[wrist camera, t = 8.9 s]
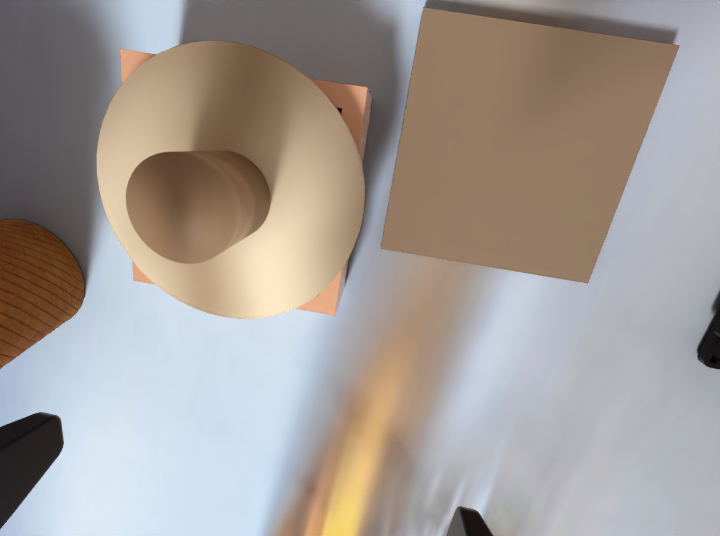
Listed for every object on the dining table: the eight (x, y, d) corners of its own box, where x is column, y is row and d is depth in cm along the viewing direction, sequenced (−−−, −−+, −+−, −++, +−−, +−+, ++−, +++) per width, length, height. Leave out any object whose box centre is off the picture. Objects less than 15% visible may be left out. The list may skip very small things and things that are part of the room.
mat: (668, 49, 15) (679, 45, 14) (581, 278, 18) (587, 283, 17) (422, 12, 15) (423, 7, 14) (381, 245, 18) (380, 248, 18)
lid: (386, 71, 13) (383, 37, 9) (345, 326, 16) (330, 386, 12) (106, 27, 13) (-21, -26, 9) (123, 287, 16) (36, 333, 12)
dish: (372, 99, 16) (367, 87, 13) (344, 286, 19) (335, 315, 16) (174, 68, 16) (119, 48, 13) (177, 257, 19) (133, 280, 16)
